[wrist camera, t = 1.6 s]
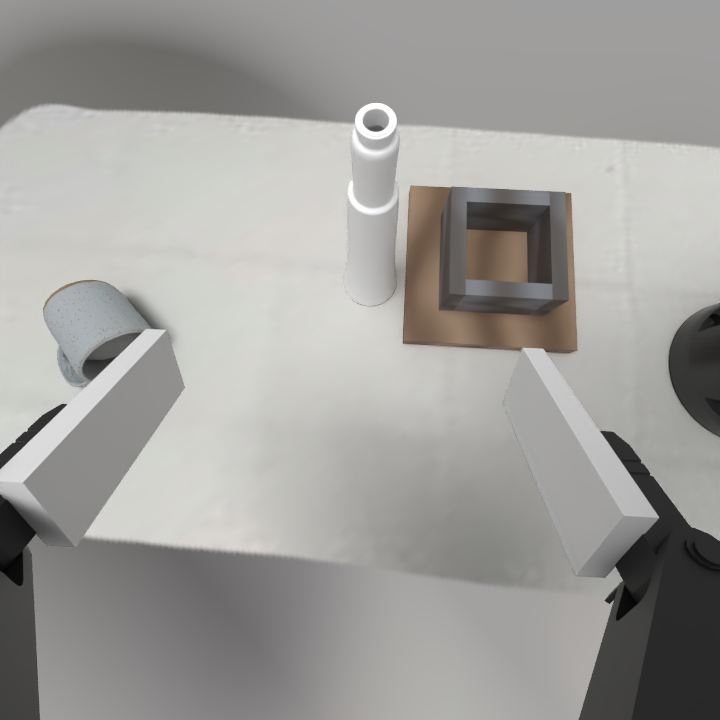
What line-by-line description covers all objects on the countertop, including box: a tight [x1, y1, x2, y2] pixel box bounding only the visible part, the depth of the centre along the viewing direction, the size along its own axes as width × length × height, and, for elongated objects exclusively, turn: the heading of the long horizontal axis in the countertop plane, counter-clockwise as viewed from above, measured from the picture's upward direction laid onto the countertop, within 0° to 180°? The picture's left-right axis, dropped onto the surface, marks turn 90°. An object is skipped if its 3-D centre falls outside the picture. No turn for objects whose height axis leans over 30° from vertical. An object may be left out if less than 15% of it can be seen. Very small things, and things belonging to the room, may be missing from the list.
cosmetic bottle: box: [343, 103, 400, 306], centre depth 30 cm, size 6×6×22 cm
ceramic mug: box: [43, 280, 151, 387], centre depth 36 cm, size 11×8×8 cm
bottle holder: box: [403, 186, 577, 353], centre depth 37 cm, size 18×18×6 cm
